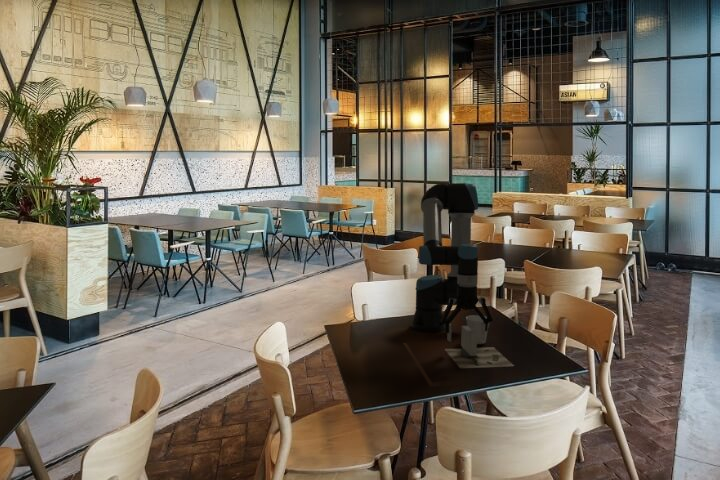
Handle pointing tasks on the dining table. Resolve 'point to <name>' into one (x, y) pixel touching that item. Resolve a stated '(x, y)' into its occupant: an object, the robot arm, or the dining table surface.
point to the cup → (476, 326)
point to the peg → (468, 343)
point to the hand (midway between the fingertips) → (466, 340)
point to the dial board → (480, 358)
